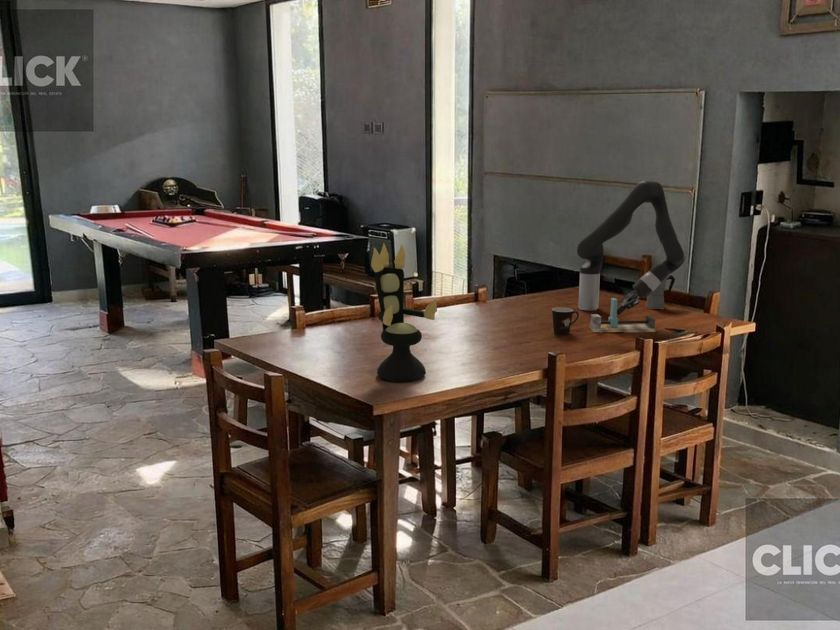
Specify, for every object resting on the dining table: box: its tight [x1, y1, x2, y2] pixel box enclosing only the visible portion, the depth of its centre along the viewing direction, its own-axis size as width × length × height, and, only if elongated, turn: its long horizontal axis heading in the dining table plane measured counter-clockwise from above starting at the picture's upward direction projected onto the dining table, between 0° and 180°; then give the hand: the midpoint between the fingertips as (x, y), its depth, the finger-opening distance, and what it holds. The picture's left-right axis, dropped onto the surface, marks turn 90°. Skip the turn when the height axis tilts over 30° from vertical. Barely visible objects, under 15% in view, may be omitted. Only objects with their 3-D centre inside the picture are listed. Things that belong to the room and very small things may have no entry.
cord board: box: [588, 313, 656, 334], centre depth 357 cm, size 26×8×6 cm, turn 94°
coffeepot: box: [645, 274, 676, 310], centre depth 400 cm, size 15×9×18 cm, turn 98°
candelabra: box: [370, 243, 438, 383], centre depth 287 cm, size 19×22×45 cm
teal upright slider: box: [607, 297, 619, 327], centre depth 356 cm, size 3×4×12 cm
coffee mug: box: [551, 307, 580, 336], centre depth 351 cm, size 12×9×10 cm
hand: (616, 313), depth 356 cm, fingers closed
